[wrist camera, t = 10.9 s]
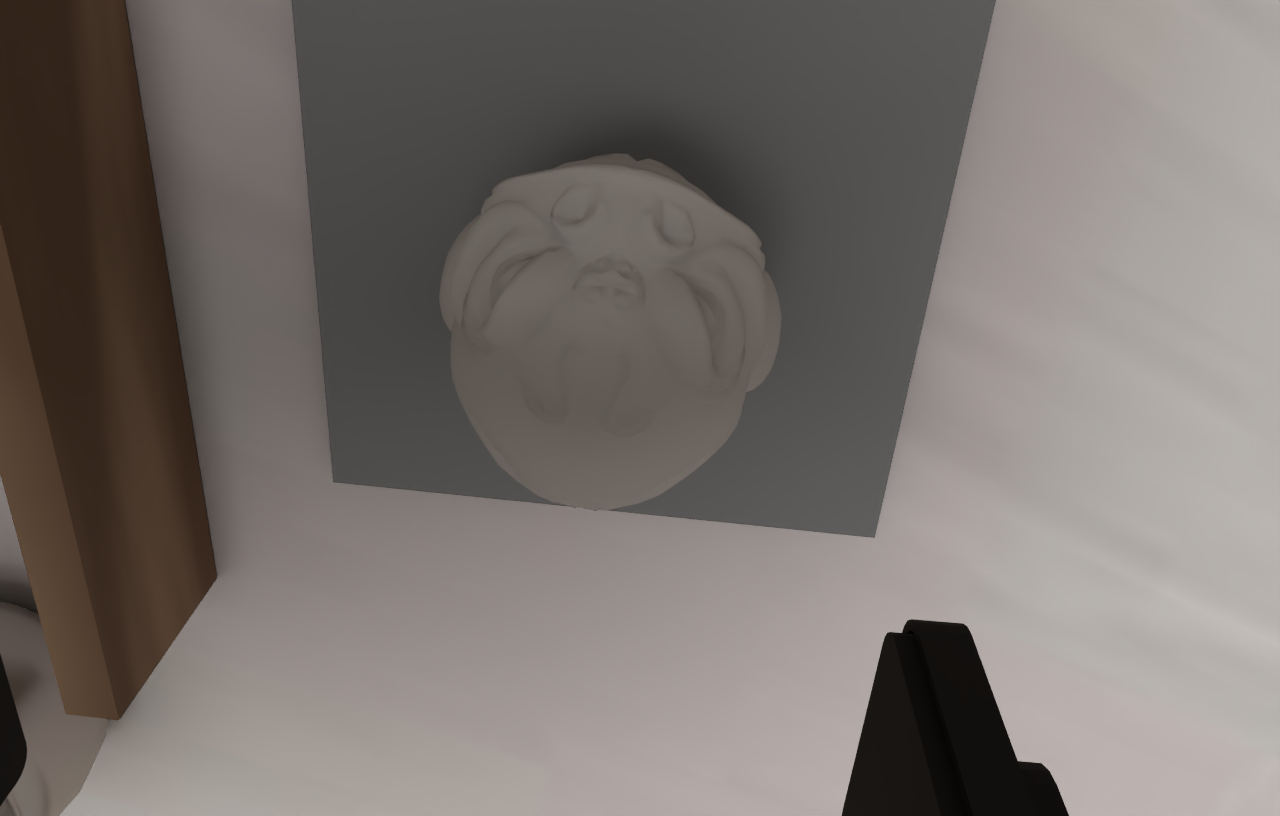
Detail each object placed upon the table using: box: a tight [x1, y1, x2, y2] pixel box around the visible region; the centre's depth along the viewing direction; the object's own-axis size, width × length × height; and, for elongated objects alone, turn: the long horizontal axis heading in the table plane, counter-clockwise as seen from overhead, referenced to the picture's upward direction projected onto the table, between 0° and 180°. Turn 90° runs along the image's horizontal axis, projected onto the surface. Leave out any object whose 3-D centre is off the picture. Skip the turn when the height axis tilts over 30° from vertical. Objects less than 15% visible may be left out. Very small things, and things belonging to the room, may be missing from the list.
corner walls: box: [0, 0, 217, 720], centre depth 19 cm, size 23×22×5 cm
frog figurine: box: [439, 153, 782, 511], centre depth 19 cm, size 6×7×7 cm
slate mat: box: [292, 0, 996, 538], centre depth 22 cm, size 13×13×1 cm
